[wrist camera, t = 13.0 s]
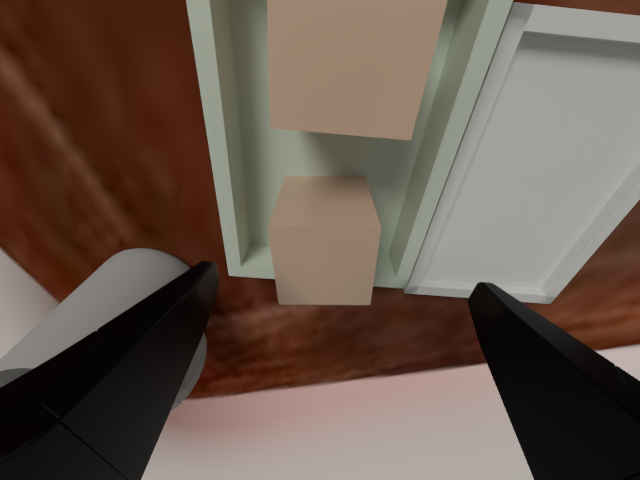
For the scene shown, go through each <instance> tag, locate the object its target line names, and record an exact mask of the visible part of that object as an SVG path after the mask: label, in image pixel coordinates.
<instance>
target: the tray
mask: <svg viewBox="0 0 640 480" xmlns="http://www.w3.org/2000/svg"><path fill="white" fill-rule="evenodd" d="M639 199H640V16H636V15H627V14H618V13H609V12H600V11H591V10H581V9H572V8H563V7H554V6H545V5H536V4H526V3H517V2H514V3H512V5H511V8H510V10H509V13H508V16H507V18H506V21H505V24H504V26H503V29H502V32H501V34H500V37H499V40H498V42H497V45H496V48H495V50H494V53H493V56H492V58H491V61H490V64H489V66H488V69H487V72H486V74H485V77H484V80H483V82H482V85H481V88H480V90H479V93H478V96H477V98H476V101H475V104H474V107H473V109H472V112H471V115H470V117H469V120H468V123H467V125H466V128H465V131H464V133H463V136H462V139H461V141H460V144H459V147H458V149H457V152H456V155H455V157H454V160H453V163H452V165H451V168H450V171H449V173H448V176H447V179H446V181H445V184H444V187H443V189H442V192H441V195H440V197H439V200H438V203H437V205H436V208H435V211H434V213H433V216H432V219H431V222H430V224H429V227H428V230H427V232H426V235H425V238H424V240H423V243H422V246H421V248H420V251H419V254H418V256H417V259H416V262H415V264H414V267H413V270H412V272H411V275H410V278H409V280H408V283H407V286H406V288H405V289H404V288H403V289H404V292H405V293H407V294H421V295H435V296H448V297H462V298H469V296H470V295H471V293H472V291H473V290H474V288H475V286H476V285H477V283H479V282H490V283H493V284H495V285H496V286H498V287H499V288H501V289H502V290H504V291H505V292H507V293H508V294H510V295H511V296H513V297H514V298H516V299H517V300H519V301H520V302H531V303H544V304H551V303H552V301H553V300H554V299H555V298H556V297H557V296H558V294H559V293H560V292H561V291H562V290H563V288H564V287H565V286H566V285H567V284H568V283H569V281H570V280H571V279H572V278H573V277H574V276H575V274H576V273H577V272H578V271H579V270H580V269H581V267H582V266H583V265H584V264H585V263H586V262H587V260H588V259H589V258H590V257H591V256H592V254H593V253H594V252H595V251H596V250H597V249H598V247H599V246H600V245H601V244H602V243H603V242H604V240H605V239H606V238H607V237H608V236H609V235H610V233H611V232H612V231H613V230H614V229H615V228H616V226H617V225H618V224H619V223H620V222H621V220H622V219H623V218H624V217H625V216H626V215H627V213H628V212H629V211H630V210H631V209H632V208H633V206H634V205H635V204H636V203H637V202H638V201H639Z"/></svg>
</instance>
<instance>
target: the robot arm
mask: <svg viewBox="0 0 640 480" xmlns="http://www.w3.org/2000/svg"><path fill="white" fill-rule="evenodd" d="M218 286H219V277H218V271H217V266H216V263H215V262H213V261H201V262H200V263H198V264H196V265H195V266H193V267H192V268H190V269H189V270H187V271H186V272H184V273H183V274H181V275H180V276H178V277H176V278H175V279H173V280H172V281H170V282H169V283H167V284H166V285H164V286H163V287H161V288H160V289H158V290H157V291H155V292H153V293H152V294H150V295H149V296H147V297H146V298H144V299H143V300H141V301H140V302H138V303H137V304H135V305H133V306H132V307H130V308H129V309H127V310H126V311H124V312H123V313H121V314H120V315H118V316H117V317H115V318H113V319H112V320H110V321H109V322H107V323H106V324H104V325H103V326H101V327H100V328H98V329H97V331H93V332H92V333H90V334H89V335H87V336H86V337H84V338H83V339H81V340H80V341H78V342H76V343H75V344H73V345H72V346H70V347H68V348H67V349H65V350H64V351H62V352H60V353H59V354H57V355H56V356H54V357H52V358H50V359H49V360H47V361H45V362H44V363H42V364H40V365H39V366H37V367H35V368H34V369H32V370H30V371H28V372H27V373H25V374H23V375H21V376H20V377H18V378H16V379H14V380H13V381H11V382H9V383H7V384H6V385H4V386H2V387H0V480H141V478H142V476H143V473H144V471H145V469H146V466H147V464H148V462H149V459H150V457H151V455H152V452H153V450H154V448H155V445H156V443H157V441H158V438H159V436H160V434H161V431H162V429H163V427H164V424H165V422H166V420H167V417H168V415H169V413H170V410H171V408H172V406H173V403H174V401H175V399H176V397H177V394H178V392H179V390H180V387H181V385H182V383H183V380H184V378H185V376H186V373H187V371H188V369H189V366H190V364H191V362H192V359H193V357H194V355H195V352H196V350H197V348H198V345H199V343H200V341H201V338H202V336H203V334H204V331H205V329H206V326H207V323H208V320H209V317H210V313H211V310H212V306H213V303H214V300H215V296H216V293H217V290H218ZM468 305H469V309H470V312H471V316H472V319H473V323H474V326H475V330H476V333H477V337H478V340H479V343H480V346H481V349H482V352H483V354H484V357H485V359H486V362H487V364H488V366H489V369H490V371H491V374H492V376H493V379H494V381H495V384H496V386H497V389H498V391H499V394H500V396H501V399H502V401H503V404H504V406H505V408H506V411H507V413H508V416H509V418H510V421H511V423H512V426H513V428H514V431H515V433H516V436H517V438H518V441H519V443H520V445H521V448H522V451H523V453H524V455H525V458H526V460H527V463H528V465H529V467H530V470H531V473H532V475H533V478H534V480H640V381H638V380H637V379H636V378H634V377H633V376H631V375H630V374H628V373H627V372H625V371H623V370H622V369H621V368H619V367H617V366H615V365H614V364H613V363H612V362H610V361H609V360H607V359H605V358H604V357H603V356H601V355H600V354H598V353H597V352H595V351H594V350H592V349H591V348H589V347H588V346H586V345H585V344H583V343H582V342H580V341H579V340H577V339H576V338H574V337H573V336H571V335H570V334H568V333H567V332H565V331H564V330H562V329H561V328H559V327H558V326H556V325H555V324H553V323H552V322H550V321H549V320H547V319H546V318H544V317H543V316H541V315H540V314H538V313H537V312H535V311H534V310H532V309H531V308H529V307H528V306H526V305H525V304H523V303H522V302H520V301H519V300H517V299H516V298H514V297H513V296H511V295H510V294H508V293H507V292H505V291H504V290H502V289H501V288H499V287H498V286H496V285H495V284H493V283H490V282H479V283H477V285H476V286H475V288H474V290H473V291H472V293H471V295H470V296H469V299H468Z"/></svg>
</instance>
